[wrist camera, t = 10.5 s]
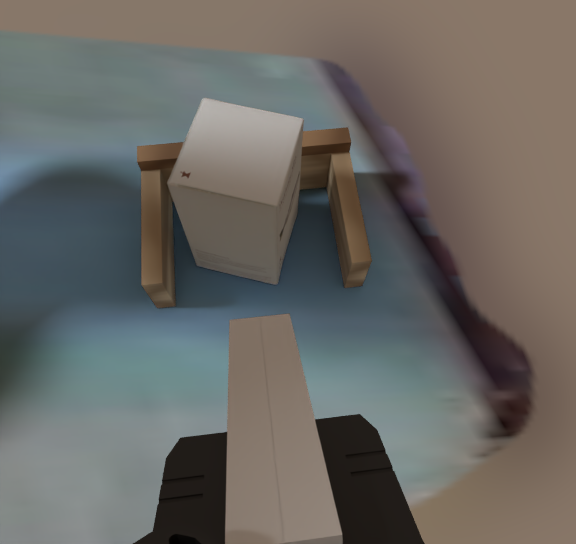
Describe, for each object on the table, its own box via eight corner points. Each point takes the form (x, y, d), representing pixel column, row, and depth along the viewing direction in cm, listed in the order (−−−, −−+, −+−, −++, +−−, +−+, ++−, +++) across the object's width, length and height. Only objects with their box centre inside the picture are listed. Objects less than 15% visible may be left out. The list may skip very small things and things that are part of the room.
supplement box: (278, 288, 42) (277, 210, 30) (194, 266, 42) (161, 182, 31) (300, 214, 44) (307, 116, 33) (221, 195, 45) (200, 93, 34)
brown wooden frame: (157, 308, 41) (137, 278, 35) (155, 189, 45) (137, 146, 40) (361, 286, 42) (374, 253, 36) (339, 172, 46) (347, 127, 41)
